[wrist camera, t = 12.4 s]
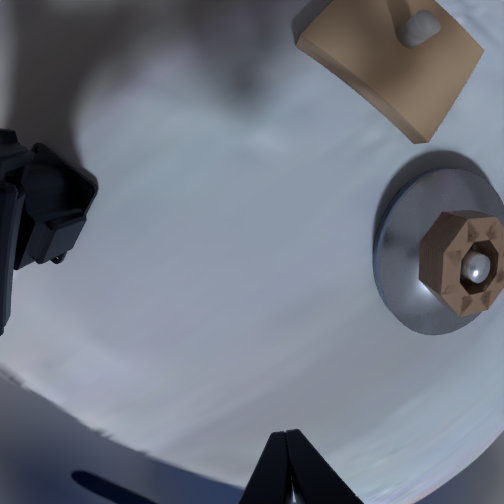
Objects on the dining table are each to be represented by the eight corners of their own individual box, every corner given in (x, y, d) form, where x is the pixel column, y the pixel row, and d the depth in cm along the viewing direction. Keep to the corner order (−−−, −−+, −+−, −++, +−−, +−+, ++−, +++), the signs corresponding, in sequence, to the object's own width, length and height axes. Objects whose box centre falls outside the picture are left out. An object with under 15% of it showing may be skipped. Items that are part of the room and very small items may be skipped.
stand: (295, 46, 17) (308, 12, 12) (370, -30, 15) (393, -64, 11) (413, 143, 19) (455, 139, 14) (469, 56, 17) (508, 41, 12)
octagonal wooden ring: (416, 304, 20) (437, 322, 17) (419, 213, 18) (444, 220, 16) (481, 290, 20) (504, 304, 17) (487, 208, 18) (514, 215, 15)
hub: (338, 270, 21) (359, 295, 16) (437, 133, 19) (475, 128, 14) (437, 350, 23) (463, 379, 18) (516, 237, 20) (552, 249, 16)
